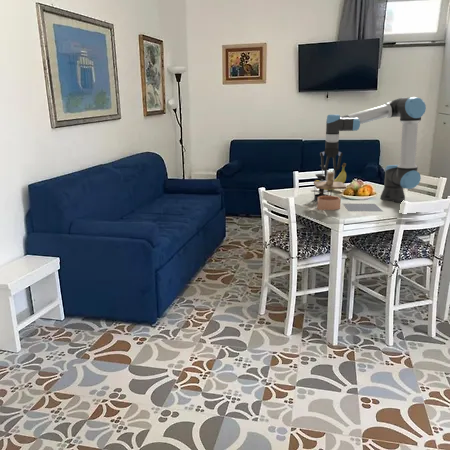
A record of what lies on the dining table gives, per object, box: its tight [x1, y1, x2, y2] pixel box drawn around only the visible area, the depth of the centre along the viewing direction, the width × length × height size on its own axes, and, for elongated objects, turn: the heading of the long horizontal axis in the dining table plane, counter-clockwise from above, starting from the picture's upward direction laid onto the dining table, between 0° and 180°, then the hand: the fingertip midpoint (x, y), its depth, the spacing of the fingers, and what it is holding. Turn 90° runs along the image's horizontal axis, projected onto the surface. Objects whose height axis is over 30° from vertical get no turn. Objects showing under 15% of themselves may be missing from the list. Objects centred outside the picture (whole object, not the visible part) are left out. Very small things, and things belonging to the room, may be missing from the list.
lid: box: [313, 171, 347, 190], centre depth 267 cm, size 17×17×8 cm
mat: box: [342, 203, 383, 212], centre depth 270 cm, size 20×20×1 cm
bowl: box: [316, 195, 341, 211], centre depth 271 cm, size 13×13×6 cm
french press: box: [313, 164, 333, 202], centre depth 291 cm, size 12×9×23 cm
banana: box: [313, 162, 347, 191], centre depth 323 cm, size 23×6×20 cm, turn 78°
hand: (329, 181), depth 267 cm, fingers closed on lid, 3 cm apart
